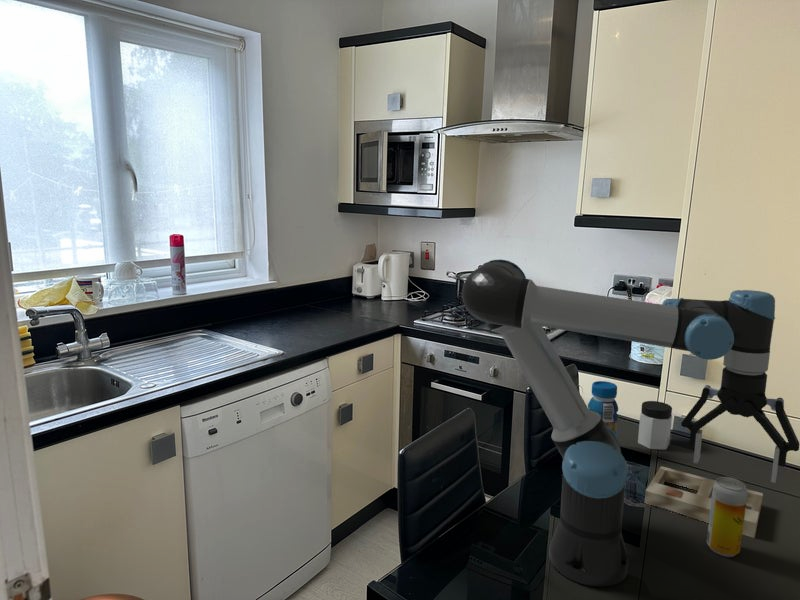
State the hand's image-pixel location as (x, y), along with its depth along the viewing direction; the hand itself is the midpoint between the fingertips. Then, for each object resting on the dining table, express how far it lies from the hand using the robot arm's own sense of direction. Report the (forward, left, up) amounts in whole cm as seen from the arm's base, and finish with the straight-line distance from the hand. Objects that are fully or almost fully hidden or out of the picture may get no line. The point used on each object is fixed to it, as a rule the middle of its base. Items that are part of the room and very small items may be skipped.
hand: (733, 470), depth 114 cm
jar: (+15, +49, -18) cm, 54 cm away
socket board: (+7, +16, -18) cm, 25 cm away
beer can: (0, 0, -18) cm, 18 cm away
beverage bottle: (-3, +47, -18) cm, 51 cm away
